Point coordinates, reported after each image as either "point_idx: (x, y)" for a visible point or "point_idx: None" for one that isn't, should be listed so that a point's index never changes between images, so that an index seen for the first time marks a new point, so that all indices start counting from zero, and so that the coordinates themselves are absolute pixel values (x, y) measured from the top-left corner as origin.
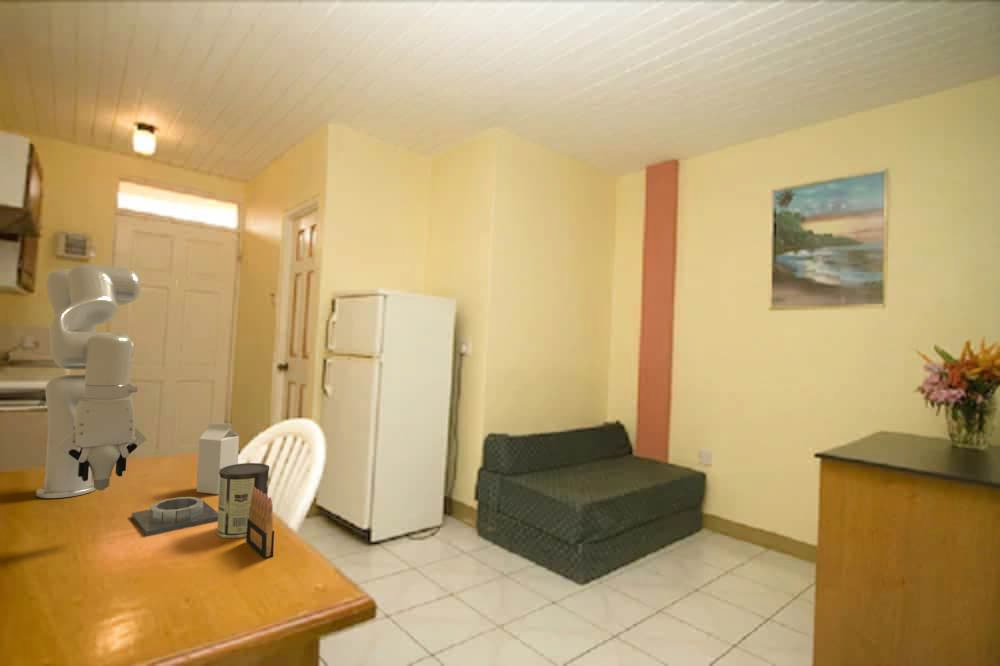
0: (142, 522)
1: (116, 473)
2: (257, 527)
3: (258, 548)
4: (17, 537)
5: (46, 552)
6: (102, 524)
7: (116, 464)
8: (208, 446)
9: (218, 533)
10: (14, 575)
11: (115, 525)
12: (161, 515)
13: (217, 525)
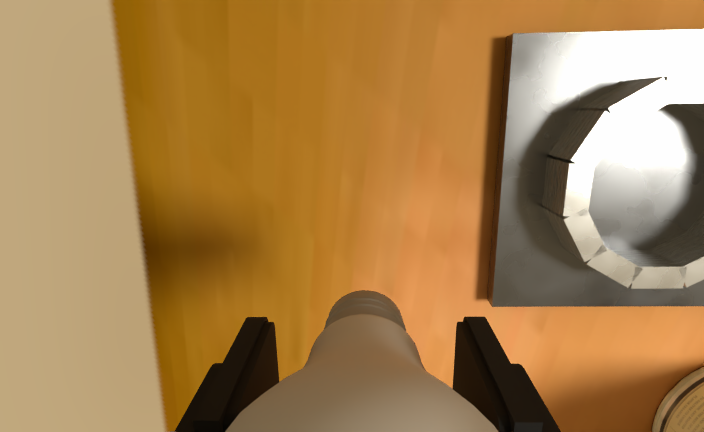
0: (510, 199)
1: (456, 356)
2: None
3: None
4: (138, 28)
5: (228, 255)
6: (398, 64)
7: (475, 383)
8: None
9: (657, 429)
10: (169, 374)
11: (434, 111)
12: (574, 254)
13: (679, 425)
